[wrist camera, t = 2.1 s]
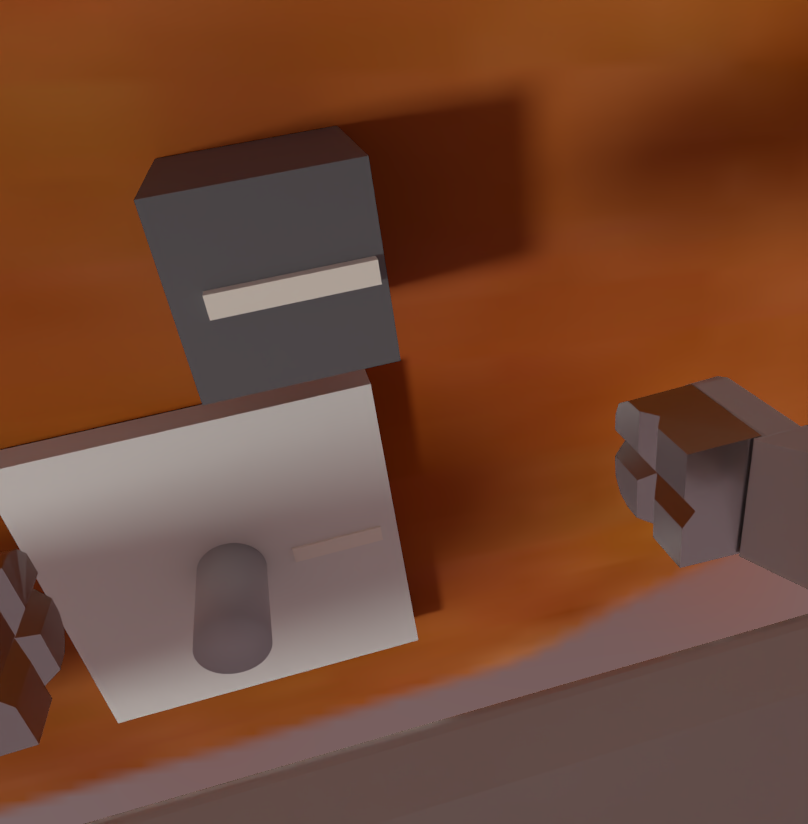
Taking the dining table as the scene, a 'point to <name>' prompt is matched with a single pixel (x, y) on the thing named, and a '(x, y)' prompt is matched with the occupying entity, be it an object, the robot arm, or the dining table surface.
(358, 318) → the dark grey cube block
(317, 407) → the shaft base
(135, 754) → the dining table surface
